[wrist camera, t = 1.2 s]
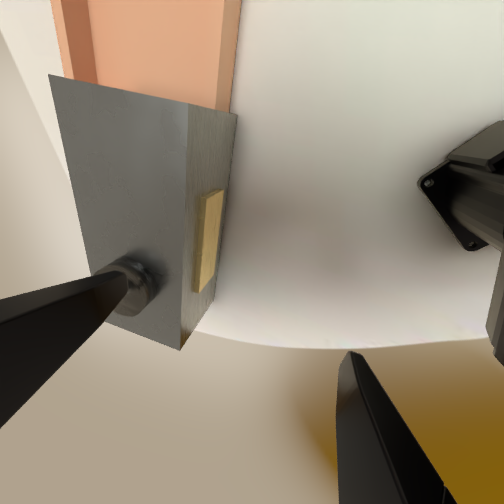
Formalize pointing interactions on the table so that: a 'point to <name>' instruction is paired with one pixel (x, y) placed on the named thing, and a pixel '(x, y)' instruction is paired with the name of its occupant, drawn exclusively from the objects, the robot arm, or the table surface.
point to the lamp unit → (148, 199)
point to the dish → (152, 46)
